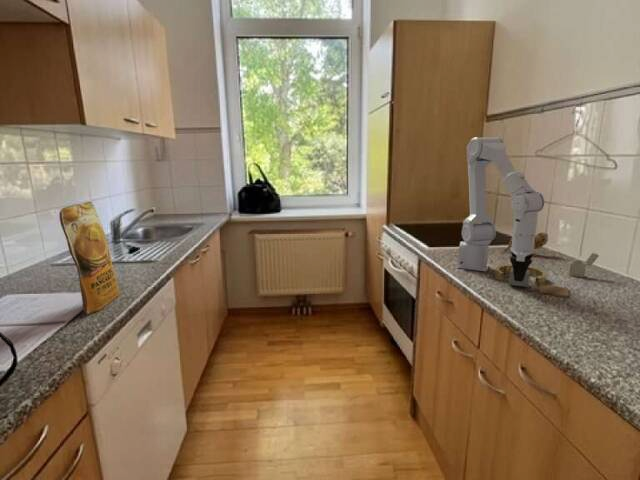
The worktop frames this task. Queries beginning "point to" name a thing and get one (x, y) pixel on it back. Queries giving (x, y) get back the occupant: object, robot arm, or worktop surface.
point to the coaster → (553, 290)
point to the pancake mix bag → (90, 255)
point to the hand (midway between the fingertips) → (518, 278)
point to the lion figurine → (539, 242)
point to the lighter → (581, 266)
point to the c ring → (535, 272)
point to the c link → (518, 283)
